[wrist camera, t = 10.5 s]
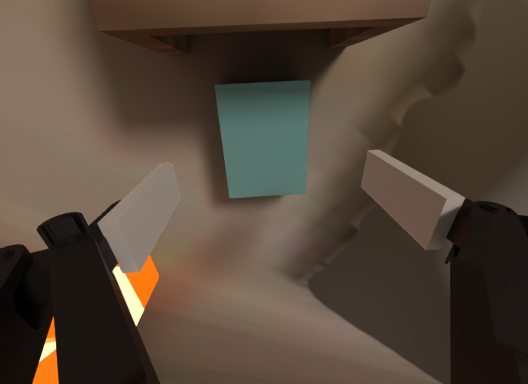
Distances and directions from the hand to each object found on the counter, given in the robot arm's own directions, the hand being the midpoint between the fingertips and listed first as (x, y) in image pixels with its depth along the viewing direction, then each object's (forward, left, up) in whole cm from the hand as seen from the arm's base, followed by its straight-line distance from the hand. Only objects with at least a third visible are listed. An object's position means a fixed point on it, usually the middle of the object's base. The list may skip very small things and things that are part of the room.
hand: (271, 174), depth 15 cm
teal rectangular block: (0, 0, -14) cm, 14 cm away
